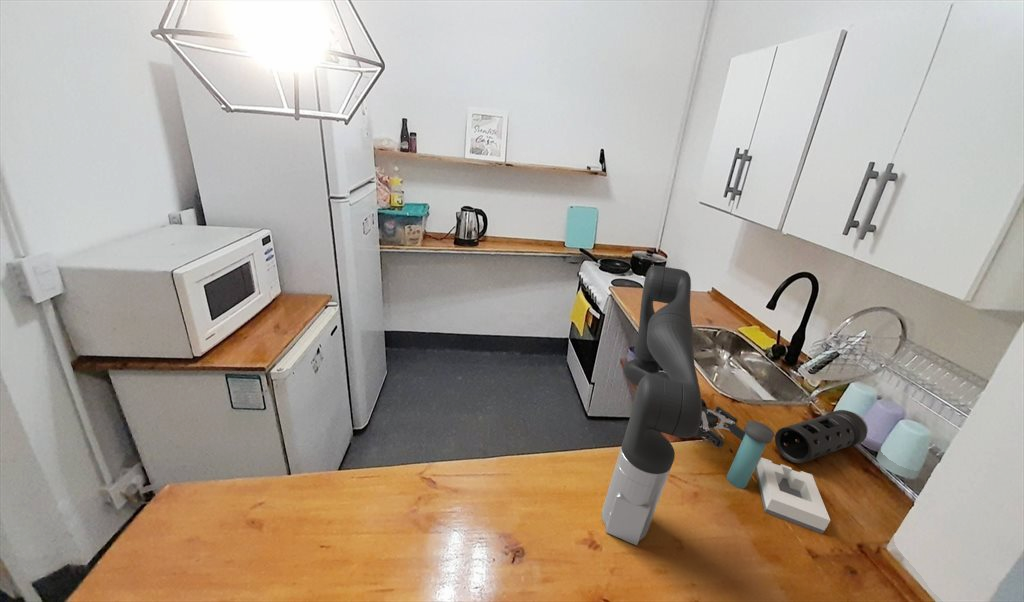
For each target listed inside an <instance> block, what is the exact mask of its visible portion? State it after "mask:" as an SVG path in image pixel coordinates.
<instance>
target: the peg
mask: <svg viewBox="0 0 1024 602" xmlns="http://www.w3.org/2000/svg"><path fill="white" fill-rule="evenodd" d="M743 431H745V433H746V434H745V436H744V438H743V440H742V441H741V443H740V445H739V448H738V449H737V452H736V454H735V457H734V458H733V461H732V463H731V466H730V468H729V470H728V472H727V474H726V480H727V482H728V483H730V485H732V486H733V487H736V488H737V489H741V488H742V489H746V488H747V487H748V484H749V482H750V480H751V478H752V477H753V476H752V475H753V473H754V472H755V469H756V467H757V465H758V462H759V460H760V458H761V457H762V455H763V452H764V451H765V449H766V446H767V445H768V444H771V443H772V441H773V439H774V438H775V432H774V431H773V430H772V428H771V427H769V426H768V425H766V424H764V423H762V422H760V421H754V420H749V421H747V422H746V423H745V426H744V428H743Z"/></svg>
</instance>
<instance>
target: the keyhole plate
mask: <svg viewBox="0 0 1024 602" xmlns="http://www.w3.org/2000/svg"><path fill="white" fill-rule="evenodd" d="M754 472H755V474H756V476H755V477H756V478H757V483H758V488H759V493H760V496H761V502H762V505H763V510H764V513H765V514H769V515H771V516H773V517H775V518H776V517H777V518H778V519H782V520H785V521H787V522H789V523H792V524H795V525H797V526H800V527H802V528H805V529H808V530H812V531H814V532H817V533H819V534H821V535H822V534H824V532H825V530H826V529H827V527H828V526H829V524H830V522H831V518H830V516H829V513H828V511H827V508H826V506H825V503H824V501H823V498H822V496H821V493H820V491H819V488H818V486H817V483H816V481H815V479H814V475H813V474H812V473H808V472H805V471H802V470H800V471H798V470H793V468H792V467H791V466H788V465H785V464H783V463H781V464H780V465H779V464H777V463H773V461H772V460H770V459H767V458H765V457H762V456H761V457H760V459H759V461H758V463H757V465H756V468H755V470H754Z"/></svg>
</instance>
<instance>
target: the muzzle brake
mask: <svg viewBox="0 0 1024 602" xmlns="http://www.w3.org/2000/svg"><path fill="white" fill-rule="evenodd" d="M868 430H869V429H868V425H867V422H866V421H865V419H864V418H863V417H862V416H861V415H860V414H858V413H856V412H854V411H850V410H845V409H839V410H838V409H837V410H833V411H831V412H828V413H826V414H823V415H821V416H817V417H814V418H811V419H808V420H804V421H801V422H797V423H794V424H791V425H787V426H783V427H782V428H780V429H778V430H777V432H776V433H775V434H774V443H775V447H776V449H777V450H778V452H779V454H780V455H781V456H782V457H783V460H785V461H786V462H788V463H789V462H791V463H793V464H801V465H802V464H804V463H807V462H809V461H810V462H811V461H813V460H816V459H818V458H821V457H823V456H826V455H830V454H831V453H833V452H837V451H839V450H843V449H845V448H849V447H853V446H857V445H859V444H861V443H863V442H864V441H865V440H866V438H867V436H868Z"/></svg>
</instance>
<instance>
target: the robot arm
mask: <svg viewBox="0 0 1024 602" xmlns="http://www.w3.org/2000/svg"><path fill="white" fill-rule="evenodd" d="M642 286H643V288H642V293H641V294H642V295H641V301H640V302H641V303H640V309H639V312H640V313H639V323H638V331H637V334H636V335H637V336H636V340H635V344H634V346H633V347H634V348H633V352H634V354H635V356H636V357H635V358H634V359H631V360H628V361H627V362H626V363H625V364H624V365H623V368H622V369H623V370H622V371H623V374H624V377H626V379H627V380H628V381H629V383H631V384H633V385H634V386H636V390H635V394H634V397H633V403H632V407H631V412H630V416H629V420H628V424H627V427H626V430H625V434H624V436H623V437H624V438H623V440H622V444H621V447H620V449H619V453H618V457H617V460H616V463H615V466H614V471H613V474H612V476H611V480H610V482H609V486H608V490H607V493H606V496H605V500H604V503H603V507H602V510H601V518H602V522H603V524H604V525H605V533H607V534H609V535H612V536H613V537H616V538H618V539H621V540H623V541H625V542H627V543H629V544H632V545H634V546H638V545H639V542H640V541H641V540H643V539H644V538H645V537H646V536H647V534H648V531H649V529H650V526H651V524H652V521H653V517H654V514H655V512H656V510H657V507H658V504H659V501H660V498H661V496H662V493H663V490H664V488H665V484H666V482H667V480H668V478H669V475H670V472H671V469H672V467H673V463H674V461H675V459H676V458H675V456H676V454H675V453H676V452H675V449H674V447H673V445H672V444H671V442H670V441H669V440H668V439H667V438H666V436H664V435H663V434H666V435H669V436H673V437H675V438H676V437H677V438H683V439H684V438H685V439H688V438H692V437H695V438H696V439H699V438H703V439H706V440H707V441H708V442H709V443H711V444H712V445H713V446H715V447H716V448H718V449H721V448H722V447H723V445H724V443H725V442H724V439H723V438H721V437H720V435H717V434H716V433H715V432H714V431H713V430H710V429H711V428H713V429H714V428H716V429H719V430H722V429H723V430H726V431H728V432H730V433H731V434H732V435H733V436H735V437H736V438H737V439H739V440H740V441H741V442H742V440H743V438H744V436H745V434H746V433H745V431H744V429H742V428H741V427H739V426H738V425H737V423H738V421H739V420H738V418H736V417H735V416H733V415H732V414H730V413H729V412H728V411H726V410H724V409H723V408H721V407H720V406H716V407H715V409H714V410H713V409H711V408H710V407H708V406H707V404H706V403H707V402H706V400H705V399H703V398H702V394H701V389H700V383H699V379H698V375H697V369H696V365H695V355H694V354H695V352H694V351H695V349H694V331H693V324H692V322H693V321H692V315H691V295H692V294H691V292H692V291H691V289H692V280H691V276H690V273H689V272H688V271H686V270H684V269H680V268H675V267H669V266H663V265H662V266H661V265H652V266H650V267H649V268H648V269H647V272H646V274H645V277H644V281H643V285H642ZM654 302H658V303H663V304H665V305H664V306H662V307H660V308H659V309H657V310H656V311H655V309H654ZM660 368H661V369H662V370H663V371H664V372H663V371H660ZM719 420H720V421H719ZM661 433H662V434H661Z"/></svg>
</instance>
